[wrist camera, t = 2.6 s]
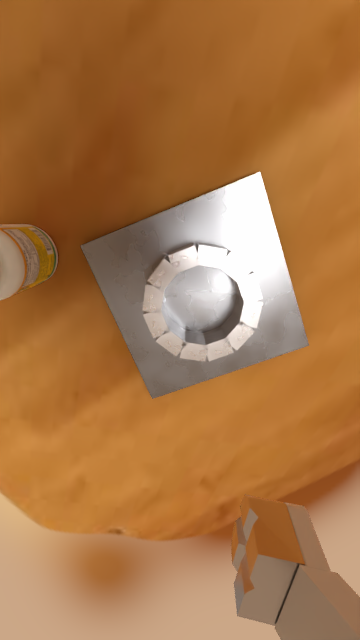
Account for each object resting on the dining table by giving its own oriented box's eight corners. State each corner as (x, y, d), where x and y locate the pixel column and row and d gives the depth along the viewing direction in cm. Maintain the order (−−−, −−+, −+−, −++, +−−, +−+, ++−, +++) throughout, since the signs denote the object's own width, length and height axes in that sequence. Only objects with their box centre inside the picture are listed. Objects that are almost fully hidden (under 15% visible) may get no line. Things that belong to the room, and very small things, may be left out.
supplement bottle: (64, 233, 28) (6, 239, 18) (54, 290, 29) (-3, 322, 20) (2, 215, 27) (-88, 213, 18) (-4, 274, 29) (-90, 300, 20)
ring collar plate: (84, 244, 28) (68, 248, 24) (256, 173, 26) (270, 165, 22) (153, 392, 32) (149, 416, 28) (304, 340, 31) (322, 358, 27)
